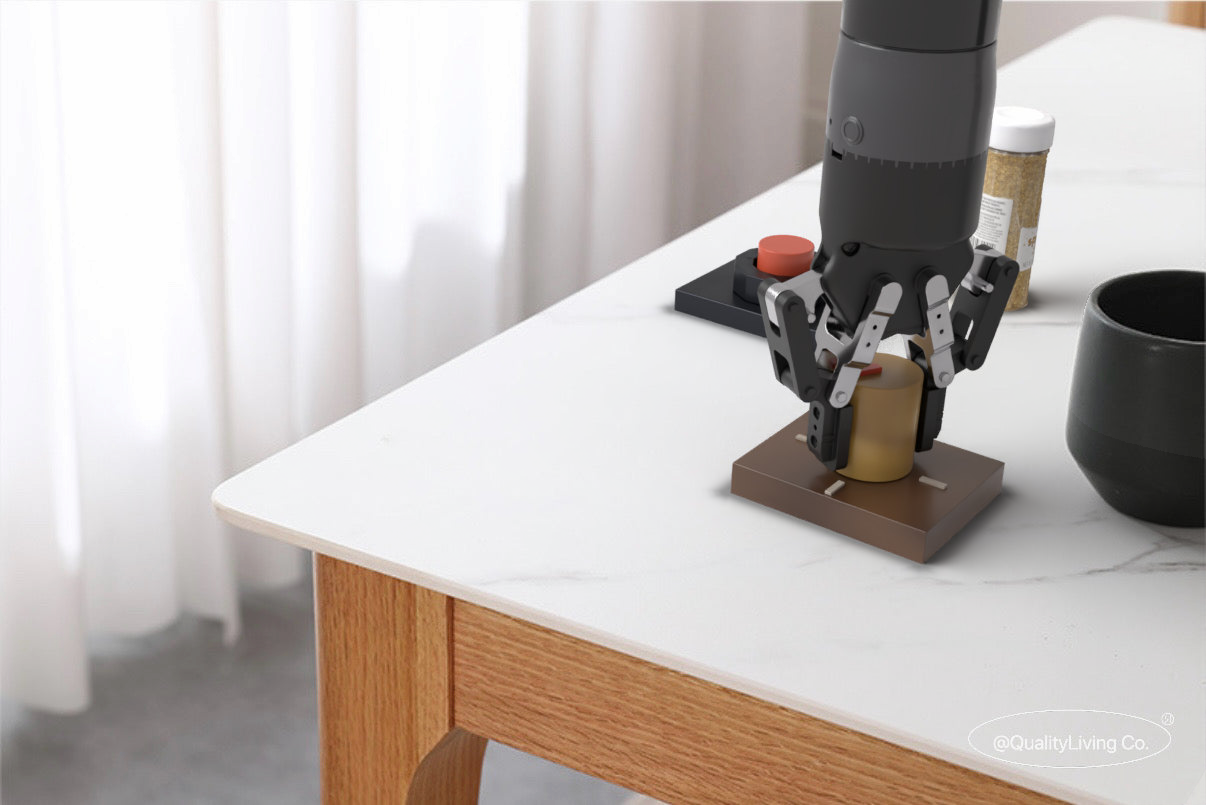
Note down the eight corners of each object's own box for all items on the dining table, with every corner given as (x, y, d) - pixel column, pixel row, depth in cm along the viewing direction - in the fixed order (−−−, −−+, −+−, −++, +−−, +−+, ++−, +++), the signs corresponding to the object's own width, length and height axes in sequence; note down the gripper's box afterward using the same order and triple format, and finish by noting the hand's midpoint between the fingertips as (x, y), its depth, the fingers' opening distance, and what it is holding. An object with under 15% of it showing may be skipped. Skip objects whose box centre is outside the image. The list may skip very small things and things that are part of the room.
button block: (887, 320, 104) (893, 264, 102) (819, 365, 97) (824, 305, 95) (746, 280, 109) (750, 226, 108) (673, 320, 103) (675, 263, 101)
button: (822, 268, 102) (825, 242, 101) (794, 284, 99) (796, 258, 99) (775, 255, 104) (777, 230, 103) (746, 270, 101) (748, 245, 101)
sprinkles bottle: (1039, 318, 104) (1069, 121, 98) (976, 323, 103) (1003, 125, 97) (1007, 293, 108) (1035, 102, 102) (946, 297, 107) (971, 105, 101)
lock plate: (999, 504, 82) (1006, 459, 81) (921, 577, 76) (927, 529, 74) (816, 441, 88) (820, 399, 87) (729, 504, 81) (732, 459, 80)
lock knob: (880, 435, 83) (891, 341, 81) (930, 472, 80) (942, 374, 77) (810, 450, 82) (818, 354, 79) (857, 489, 78) (868, 390, 76)
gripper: (986, 95, 78) (945, 400, 86) (732, 124, 73) (714, 446, 81) (1084, 137, 72) (1031, 462, 80) (815, 172, 67) (786, 516, 75)
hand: (871, 452), depth 80 cm, fingers closed on lock knob, 4 cm apart
